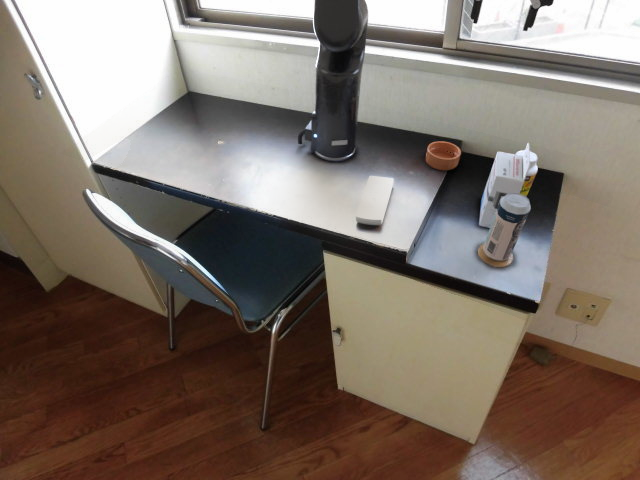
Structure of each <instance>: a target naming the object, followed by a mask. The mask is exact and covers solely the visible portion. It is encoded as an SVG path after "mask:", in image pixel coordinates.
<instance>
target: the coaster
mask: <svg viewBox="0 0 640 480" xmlns="http://www.w3.org/2000/svg"><path fill="white" fill-rule="evenodd" d="M484 244H485V242H483V243H482V244H480V246H479V247H478V249H477V255H478V257H479V259H480V260H481V261H482V262H483V263H485V264H486V265H489V266H491V267H493V268H494V267H495V268H506V267H508V266H510V265H511V264H512V262H513V261H514V255H513V253H512V254H511V256H510V257H509V258H508V259H506V260H502V261H500V260H494V259H492V258H490V257H488V256H487V255H486V254H485V252H484V250H483V246H484Z"/></svg>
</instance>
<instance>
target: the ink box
mask: <svg viewBox="0 0 640 480" xmlns="http://www.w3.org/2000/svg"><path fill="white" fill-rule="evenodd" d="M530 147H531V146H530V142H527V144H526V147H525V149H524V150H525V152H524V155H523V156H520V155H516V153H515V154H514V153H509V152H504V151H497V152H496V155H495V158H494V161H493V164H492V167H491V169H490V170H491V171H490V173H489V176H488V178H487V181H486V184H485V187H484V189H483V193H482V197H481V200H480V211H479V222H478V226H479V227H483V228H487V229H488V228H489V229H490V227H491V224H492V222H493V219H494V216H495V213H496V211H497V208H498V205H499V203H500V200H501V199H502V198H503V197H504V196H505V195H507V194H508V193H520V191H521V188H522V186H523V183H524V180H525V178H526V176H527V173H528V171H529V168H530V151H531V148H530ZM526 158H527V164H526Z"/></svg>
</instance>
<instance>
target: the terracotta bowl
mask: <svg viewBox="0 0 640 480" xmlns="http://www.w3.org/2000/svg"><path fill="white" fill-rule="evenodd" d="M426 148H427V149H426V153H425V158H424V159H425V163H426V164H427V165H428V166H430V167H431V168H432V169H435V170H438V171H451V170H454V169H455V168H457V166H458V165H459V162H460V159H461V155H462V150H461V148H460V147H459V146H457V145H456V144H454V143H452V142H449V141H443V140H441V141H433V142H430V143H429V144H428V145H427V147H426ZM447 151H448V152H447ZM450 152H451V153H450ZM453 154H454V155H453Z"/></svg>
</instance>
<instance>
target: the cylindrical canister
mask: <svg viewBox="0 0 640 480" xmlns="http://www.w3.org/2000/svg"><path fill="white" fill-rule="evenodd" d="M531 206H532V205H531V203H530V199H529V198H528V196H527V197H525V196H524V195H522V194H519V193H508V194H507V195H505V196H504V197H503V198H502V199H501V200H500V203H499V205H498V208H497V211H496V213H495V216H494V219H493V222H492V224H491V227H490V228H489V230H488V233H487V236H486V239H485V241H484V243H485V244H484V243H483V244H484V246H483V250H484V252H485V254H486V255H487V256H488V257H490V258H492V259H494V260H500V261H502V260H506V259H508V258H509V257H510V256H511V254H513V251H514V249H515V247H516V244H517V242H518V239H519V238H520V235H521V233H522V230H523V228H524V227H525V223H526V221H527V219H528V216H529V214H530V212H531V209H532V208H531Z"/></svg>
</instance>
